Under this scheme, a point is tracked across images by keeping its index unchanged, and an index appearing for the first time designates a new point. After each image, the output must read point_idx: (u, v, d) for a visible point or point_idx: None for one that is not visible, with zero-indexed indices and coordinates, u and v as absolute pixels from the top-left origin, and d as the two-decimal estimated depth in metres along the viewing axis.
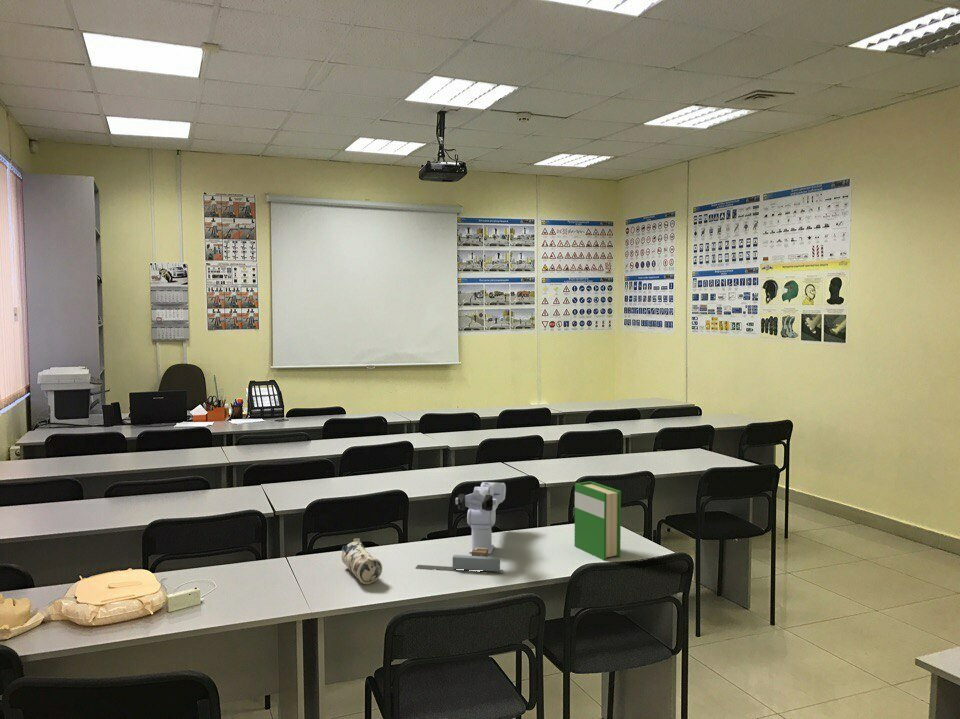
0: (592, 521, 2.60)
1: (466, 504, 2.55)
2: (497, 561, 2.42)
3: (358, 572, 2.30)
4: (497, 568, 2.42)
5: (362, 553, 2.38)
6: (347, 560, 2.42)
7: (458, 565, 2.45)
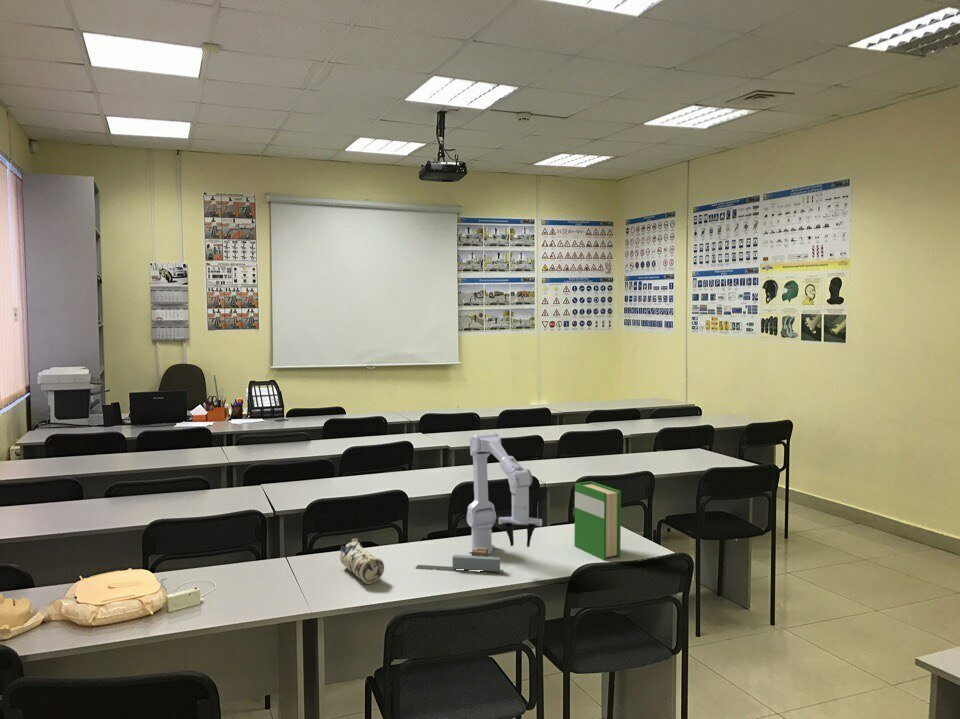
0: (592, 521, 2.60)
1: None
2: (497, 561, 2.42)
3: (361, 572, 2.30)
4: (497, 568, 2.42)
5: (363, 553, 2.39)
6: (347, 560, 2.41)
7: (458, 565, 2.45)
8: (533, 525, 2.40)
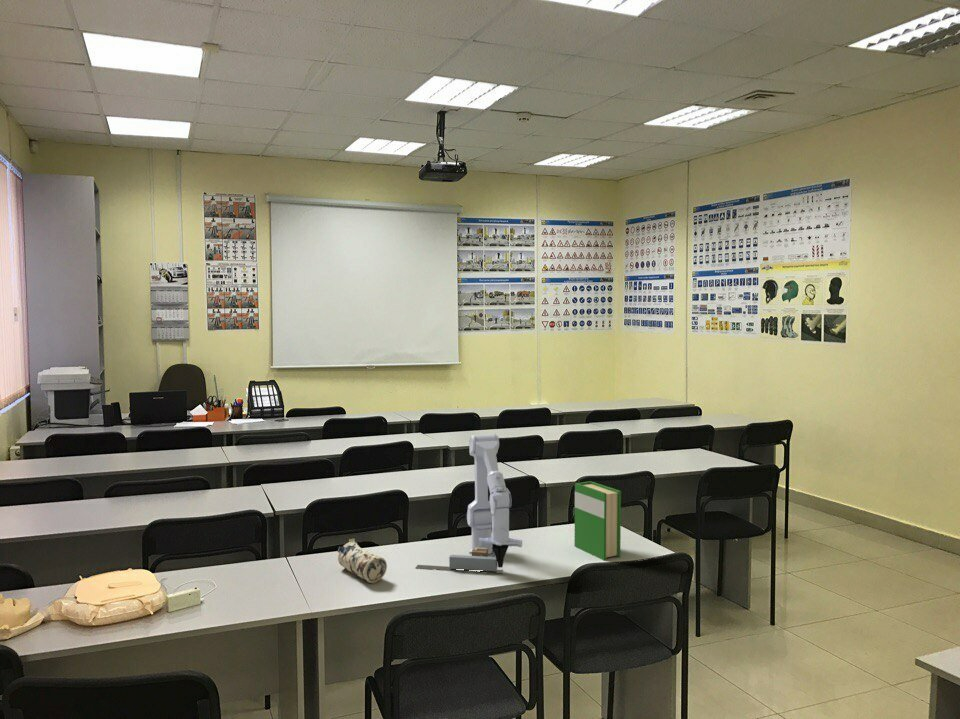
0: (592, 521, 2.60)
1: None
2: (494, 561, 2.42)
3: (365, 571, 2.30)
4: (494, 568, 2.43)
5: (364, 553, 2.39)
6: (347, 561, 2.41)
7: (455, 564, 2.45)
8: None
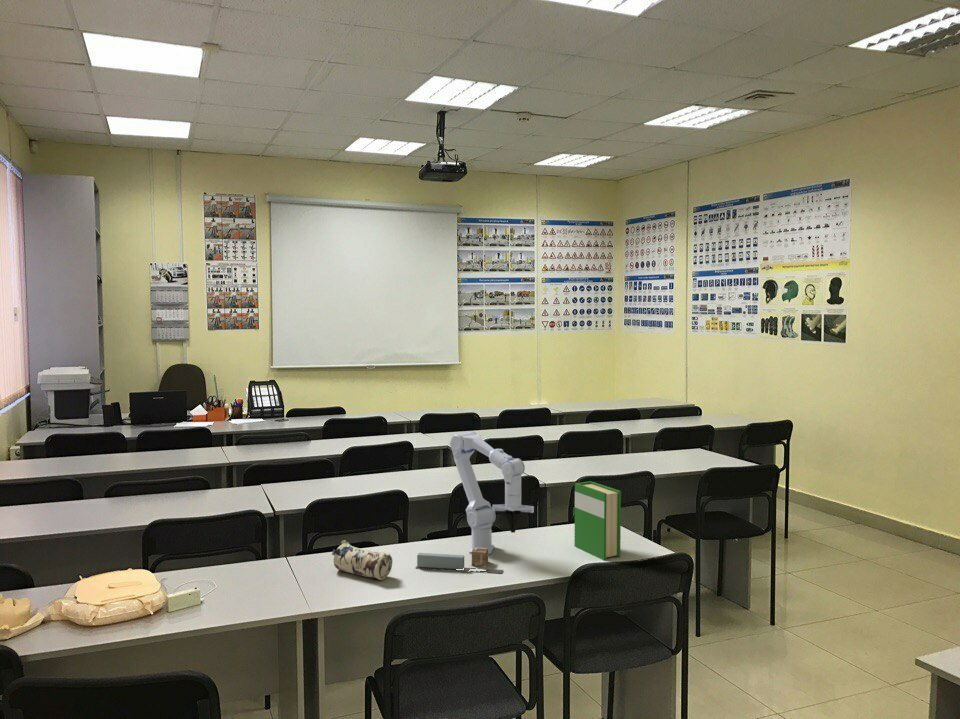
0: (592, 521, 2.60)
1: None
2: (461, 559, 2.44)
3: (377, 569, 2.33)
4: (461, 566, 2.45)
5: (367, 552, 2.40)
6: (348, 562, 2.40)
7: (423, 562, 2.47)
8: None
